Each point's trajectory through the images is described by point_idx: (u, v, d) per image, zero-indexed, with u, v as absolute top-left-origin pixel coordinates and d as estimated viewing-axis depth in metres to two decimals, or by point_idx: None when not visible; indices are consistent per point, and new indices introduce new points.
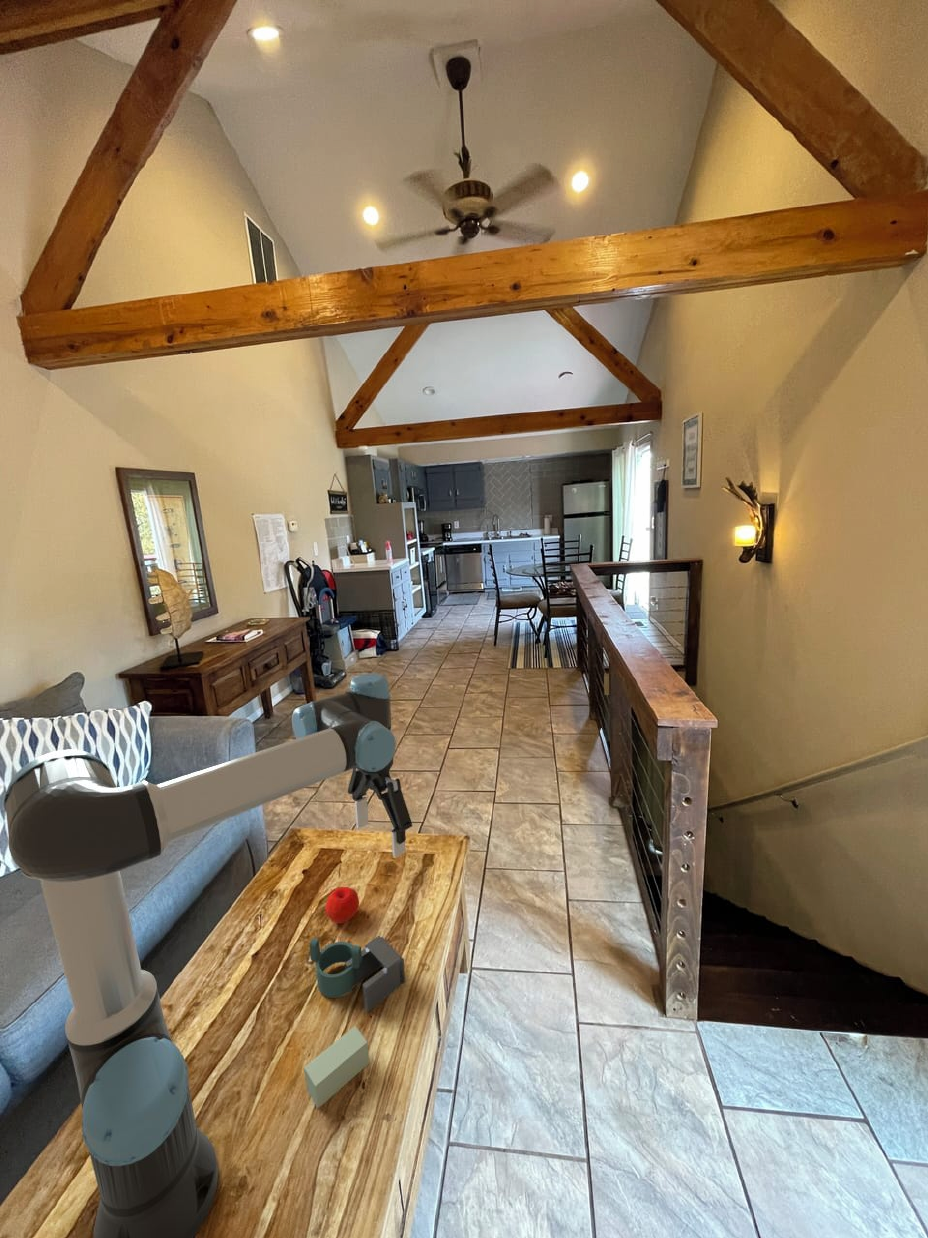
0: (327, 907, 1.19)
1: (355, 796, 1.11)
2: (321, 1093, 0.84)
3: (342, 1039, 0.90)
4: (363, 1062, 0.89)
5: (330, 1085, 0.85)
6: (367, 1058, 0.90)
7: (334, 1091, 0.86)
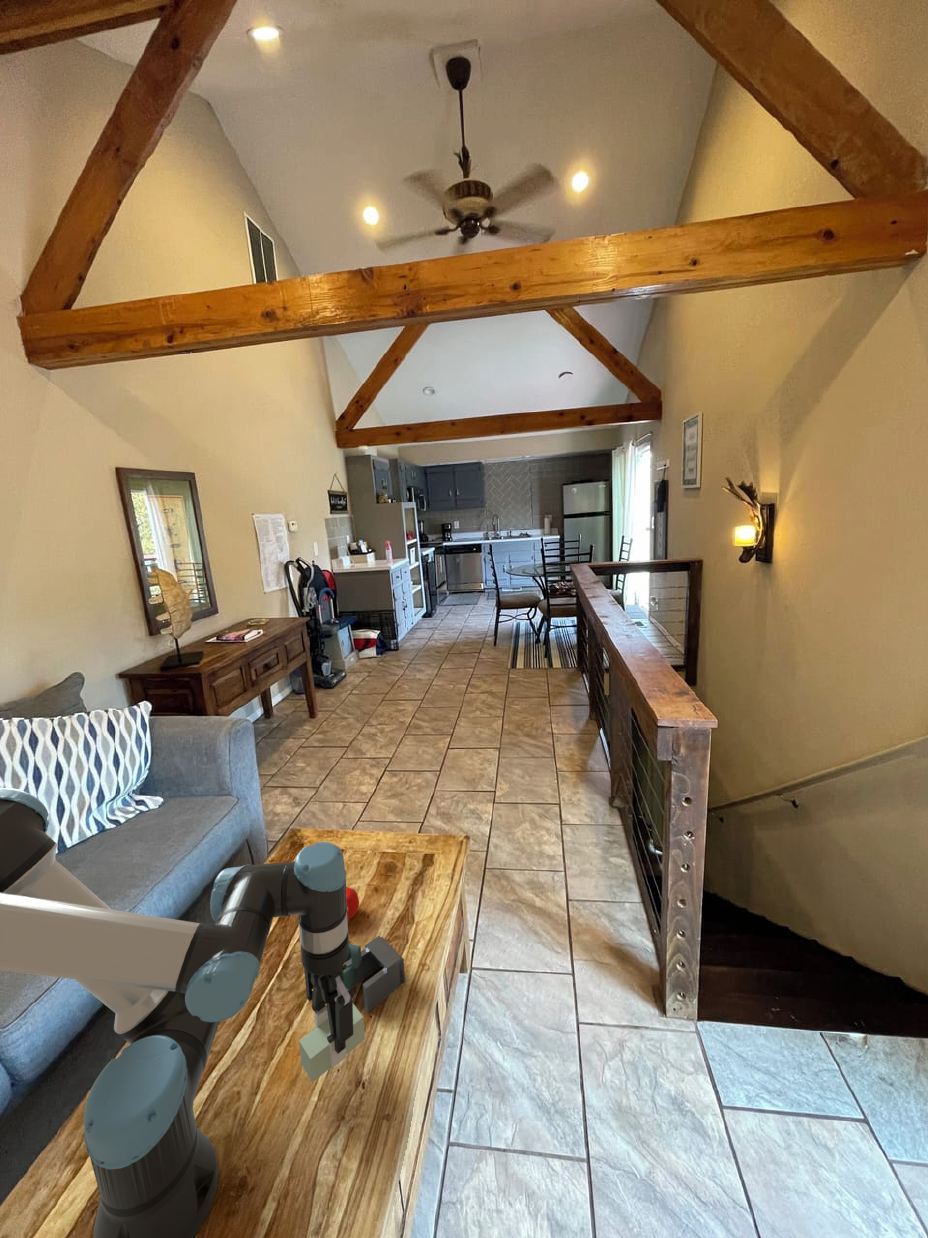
0: None
1: (314, 1005, 0.86)
2: (316, 1066, 0.83)
3: None
4: (359, 1037, 0.88)
5: (325, 1059, 0.84)
6: (363, 1033, 0.89)
7: (329, 1065, 0.85)
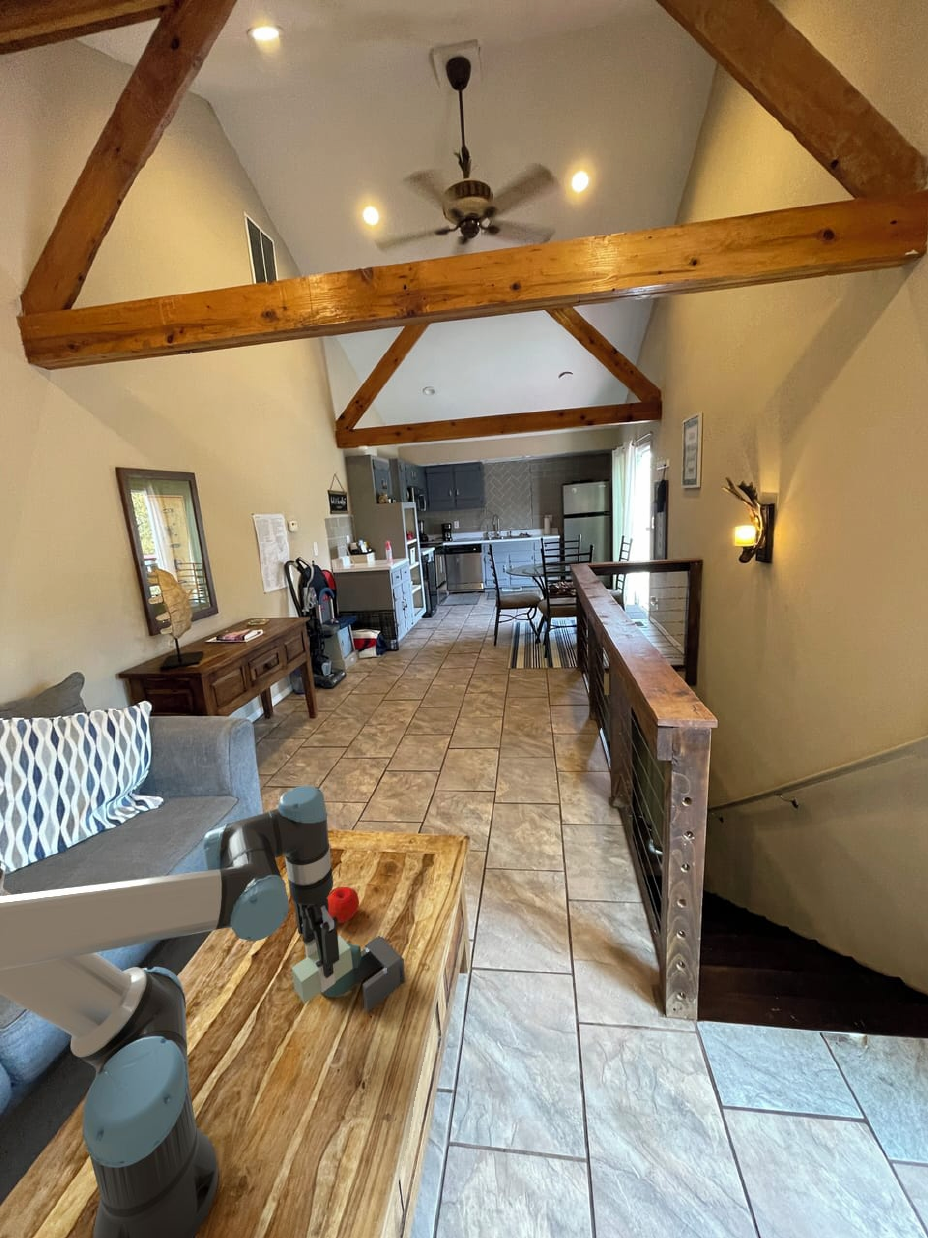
0: None
1: (304, 937, 0.95)
2: (307, 989, 0.91)
3: None
4: (347, 966, 0.97)
5: (315, 983, 0.92)
6: (351, 963, 0.97)
7: (319, 989, 0.93)
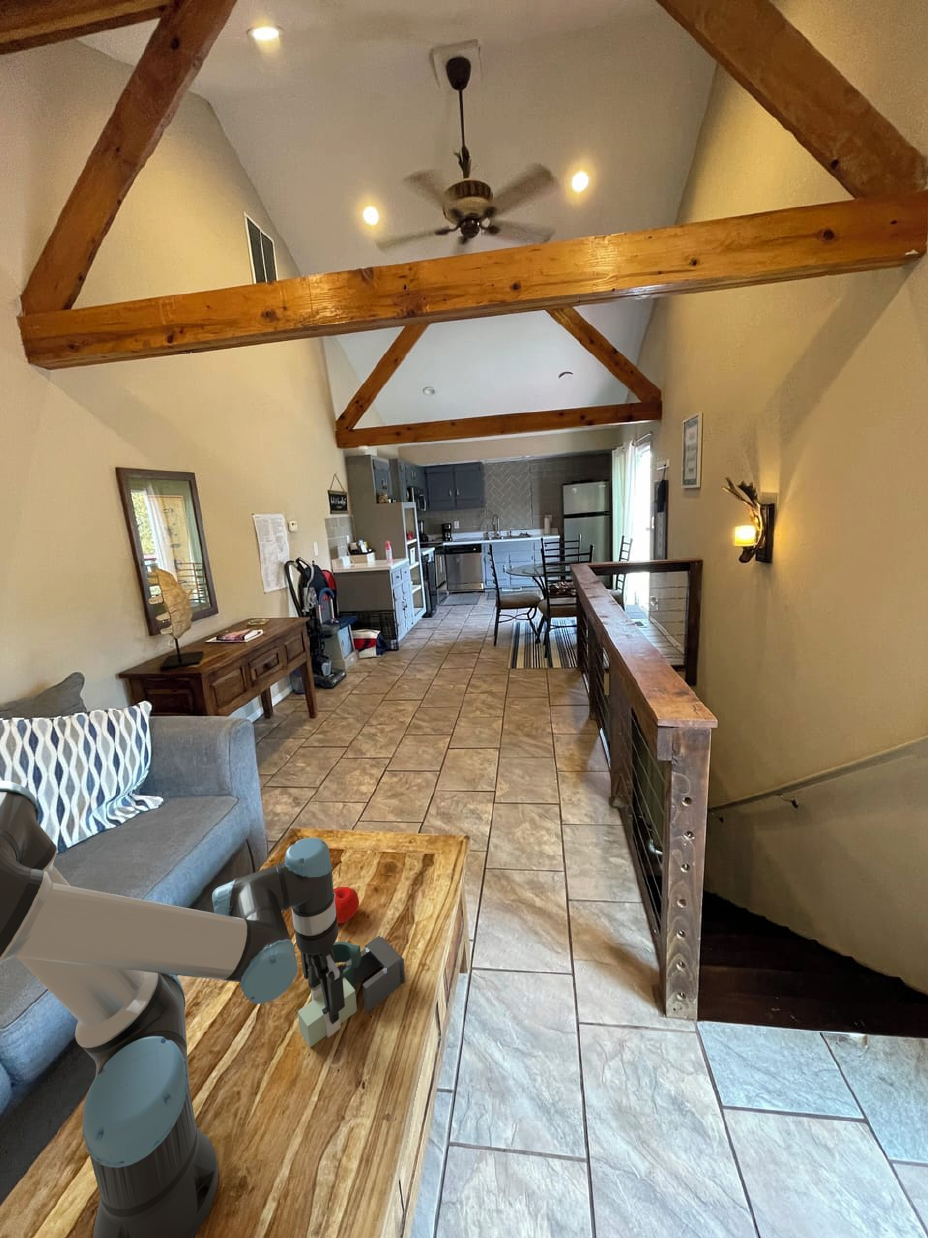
0: None
1: (310, 982, 0.97)
2: (313, 1033, 0.93)
3: None
4: (351, 1009, 0.99)
5: (321, 1027, 0.94)
6: (355, 1005, 0.99)
7: (325, 1033, 0.95)
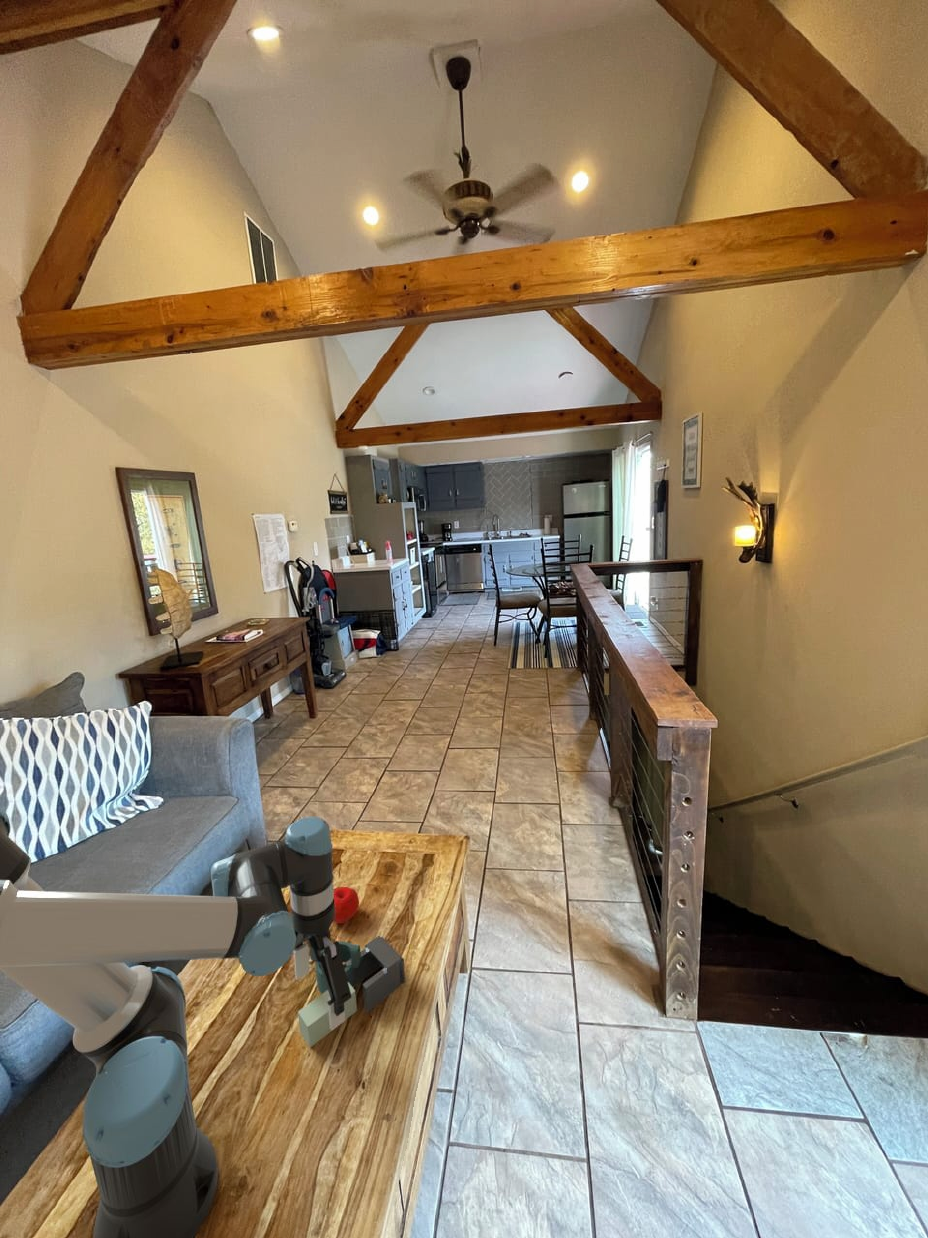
0: None
1: None
2: (313, 1034, 0.93)
3: None
4: (351, 1009, 0.99)
5: (321, 1027, 0.94)
6: (355, 1006, 0.99)
7: (325, 1033, 0.95)
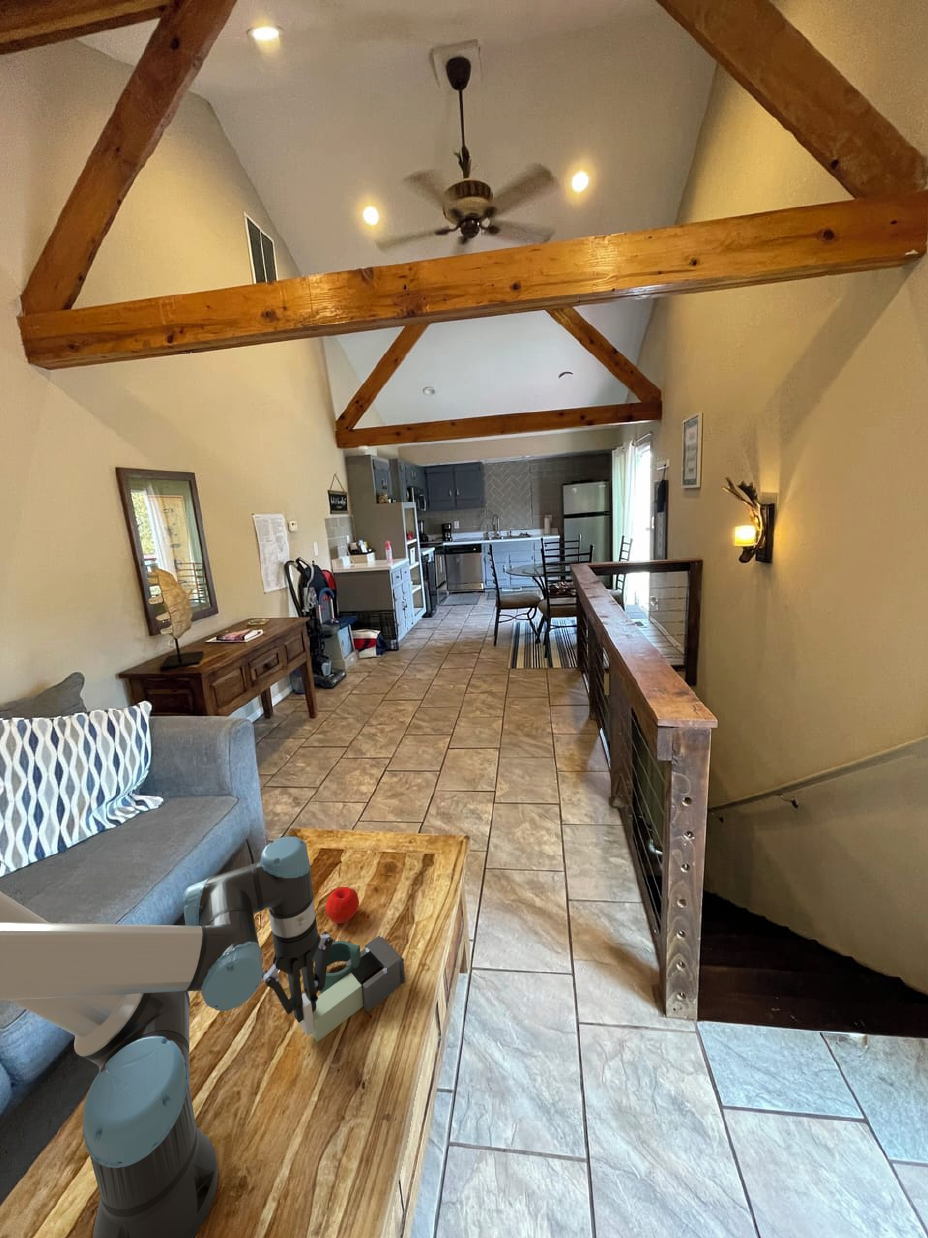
0: (327, 907, 1.19)
1: None
2: (320, 1028, 0.94)
3: (339, 983, 1.00)
4: (358, 1004, 1.00)
5: (328, 1021, 0.95)
6: (361, 1000, 1.00)
7: (332, 1027, 0.96)
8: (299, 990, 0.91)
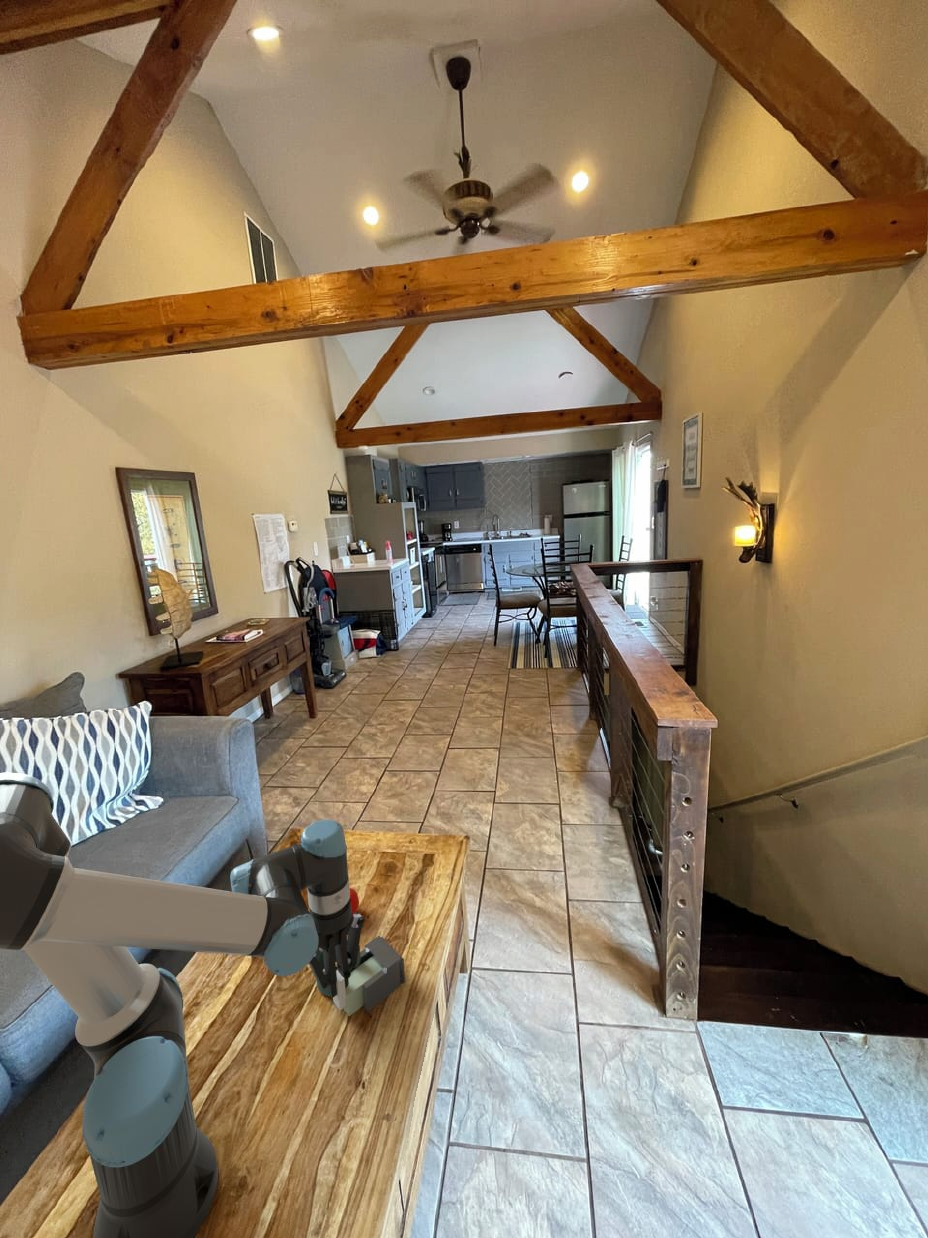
0: None
1: None
2: (352, 1002, 0.99)
3: (368, 961, 1.05)
4: None
5: (359, 997, 1.00)
6: None
7: (362, 1002, 1.01)
8: (334, 966, 0.95)
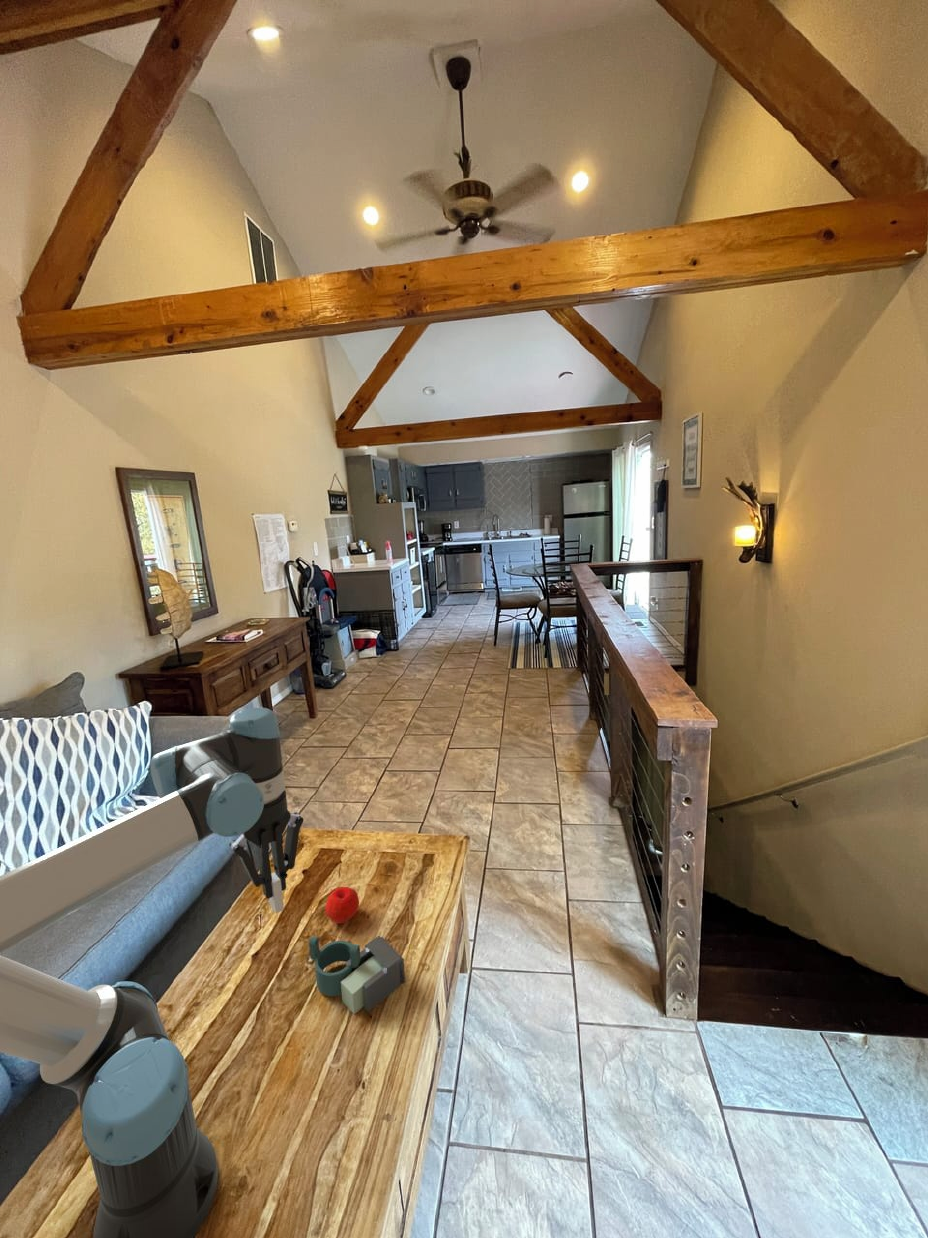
0: (327, 907, 1.19)
1: None
2: (357, 1001, 0.99)
3: (371, 959, 1.06)
4: None
5: None
6: None
7: None
8: (268, 864, 0.91)
